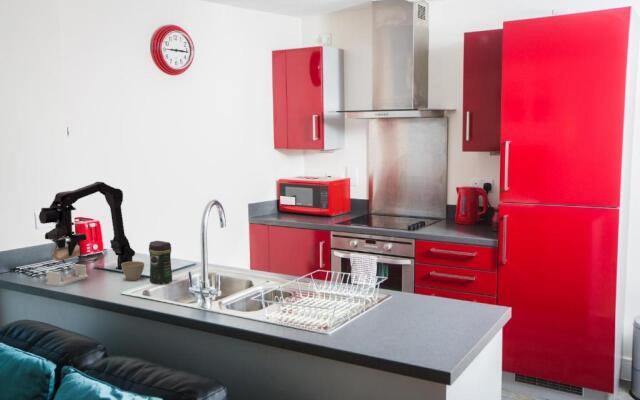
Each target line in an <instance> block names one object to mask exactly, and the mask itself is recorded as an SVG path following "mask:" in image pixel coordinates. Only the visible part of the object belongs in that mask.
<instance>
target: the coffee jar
mask: <svg viewBox="0 0 640 400" xmlns="http://www.w3.org/2000/svg"><path fill="white" fill-rule="evenodd" d="M171 245H172V244H171V243H170V242H169V241H162V240H154V241H150V242H149V245H148V252H149V260H150V261H149V263H150V264H149V266H150V267H149V281H150V283H152V284H156V285H163V284H164V285H165V284H166V285H167V284H169V283H171V282H173V273H172V272H173V271H172V270H173V269H172V262H171V253H172V246H171Z"/></svg>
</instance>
